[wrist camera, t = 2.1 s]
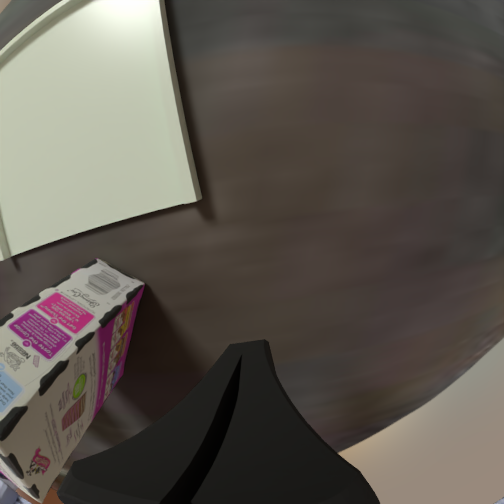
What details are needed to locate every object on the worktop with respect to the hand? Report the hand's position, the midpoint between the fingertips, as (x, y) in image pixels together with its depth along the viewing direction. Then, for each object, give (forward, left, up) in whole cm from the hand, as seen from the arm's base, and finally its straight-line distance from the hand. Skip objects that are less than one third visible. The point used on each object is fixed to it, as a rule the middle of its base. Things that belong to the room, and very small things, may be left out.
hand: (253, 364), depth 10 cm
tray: (-14, +16, -10) cm, 24 cm away
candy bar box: (-14, -3, -11) cm, 18 cm away
